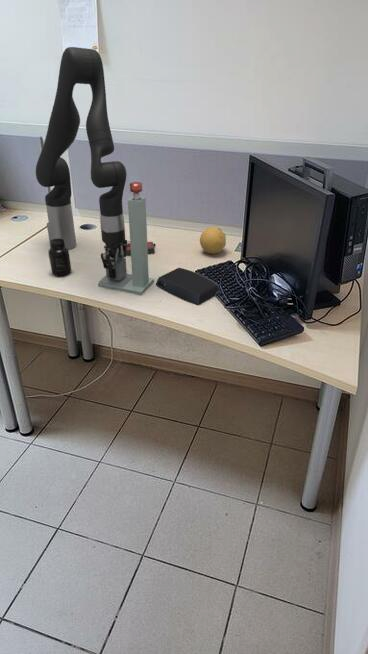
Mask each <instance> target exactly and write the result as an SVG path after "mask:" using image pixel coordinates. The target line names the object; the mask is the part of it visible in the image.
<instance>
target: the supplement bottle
mask: <svg viewBox="0 0 368 654" xmlns="http://www.w3.org/2000/svg"><path fill="white" fill-rule="evenodd" d="M69 250H70V249H69ZM69 250H68V248H67V247H65V243H64V240H63V239H53V240H51V241H49V249H48V258H49V263H50V265H49V266H50V269H51V274H52V275H53V276H55V277H58V278H59V277H60V278H61V277H66V276H69V275H70V274H71V273H72V264H71V257H70V251H69Z"/></svg>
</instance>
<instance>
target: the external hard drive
mask: <svg viewBox="0 0 368 654" xmlns="http://www.w3.org/2000/svg"><path fill="white" fill-rule="evenodd" d="M155 286H156V287H157V288H159V289H160V290H162V291H163V292H166V293H168V294H170V295H172V296H174V297H176V298H178V299H180V300H182V301H184V302H188V303H189V304H192V305H195V306H200V305H202V304H204V303H205V302H208V300H211V299H212V298H215V294H216V292H217V291H218V290H219V289H220V290H221V288H220V286H219V284H218V283H216V282H215V281H214V280H212V279H210V278H208V277H207V276H204V275H203V274H200V273H197V272H196V271H194V270H189V269H186V268H183V267H177V268H175V269H173V270H171V271H168V272H167V273H165V274H162V275H161V276H158V278H157V280H156V283H155Z"/></svg>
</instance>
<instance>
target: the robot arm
mask: <svg viewBox="0 0 368 654" xmlns="http://www.w3.org/2000/svg"><path fill="white" fill-rule="evenodd" d="M59 65H60V66H59V72H58V80H57V86H56V93H55V98H54V103H53V106H52V110H51V114H50V117H49V121H48V126H47V130H46V131H47V132H46V135H45V138H44V141H43V145H42V149H41V152H40V154H39V157H38V160H37V162H36V165H35V178H36V181H37V182H38V184H39V185H40V186H42V187H44V188H52V187H53V188H52V189H51V190H50V191H49V192H48V193H47V194H46V195H45V196H44V200H45V201H44V202H45V207H46V213H47V220H48V222H46V228H47V233H48V240H49V242H50V241H51V240H53V239H63V240H64V243H65V247H67V248H68V250H72V249H74V248H76V246H77V239H76V231H75V221H74V215H73V207H72V201H71V200H72V183H71V182H72V181H71V172H70V168H69V164H68V163H67V161H66V160H65V159H64V158H63V157H62V156H63V154H65V152H66V151H67V150H68V149H69V148H70V147H71V146H72V145H73V143H74V141H75V140H76V138H77V136H78V135H77V134H78V132H79V128H80V124H81V117H80V112H79V110H78V108H77V105H76V103H75V100H74V97H73V93H74V89H75V85H76V84H80V85H89V87H90V89H91V96H92V97H91V98H92V99H91V102H90V103H91V104H90V108H89V110H88V114H87V117H86V121H85V122H86V123H85V131H86V135H87V139H88V140H87V141H88V144H89V148H90V157H91V158H90V161H91V163H90V180H91V182H92V184H93V185H94V186H95V187H96V188H98V189H103V188H110V187H111V189H109V191H107V192H105V193H102V194H101V195H100V196H99V198H98V201H99V202H98V203H99V215H100V216H99V218H100V219H99V222H100V232H101V233H100V234H101V242H102V243H104V244H105V246H106V248H105V252H101V254H100V258H101V262H102V265H103V268H104V269H105V270H106V269H108V270H109V277H110V278H112V279H115V278H116V273H115V263H116V262H117V257H120V258H127V256H126V253H127V242H128V240H127V239H126V227H125V218H124V217H125V216H124V209H123V196H124V191H125V190H124V189H125V185H126V181H127V169H126V167H125V165H124V163H122V162H121V161H119V160H118V161H117V160H116V161H105V162H102V158H104V157H106V156H109V155H111V154H113V153H114V151H115V144H114V140H113V136H112V131H111V126H110V122H109V117H108V116H109V115H108V107H107V106H108V105H107V93H106V81H105V71H104V64H103V59H102V57H101V55H100V53H99V52H98V51H97V50H96V49H93V48H92V49H91V48H86V47H85V48H84V47H75V46H70V47H69V46H68V47H66V48H65V49H64V51H63V53H62V55H61V60H60V63H59ZM123 250H124V252H123ZM110 257H111V258H114V259H110ZM111 262H112V264H111Z"/></svg>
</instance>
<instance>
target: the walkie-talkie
mask: <svg viewBox="0 0 368 654" xmlns="http://www.w3.org/2000/svg"><path fill="white" fill-rule="evenodd" d="M155 247H156V243H154V242H153V241H147V248H148V255H154V254H155V252H156V251H155ZM103 248H104V249H106V245H104V246H103ZM123 252H124V250H123ZM126 257H131V247H130V240H127V253H126Z"/></svg>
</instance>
